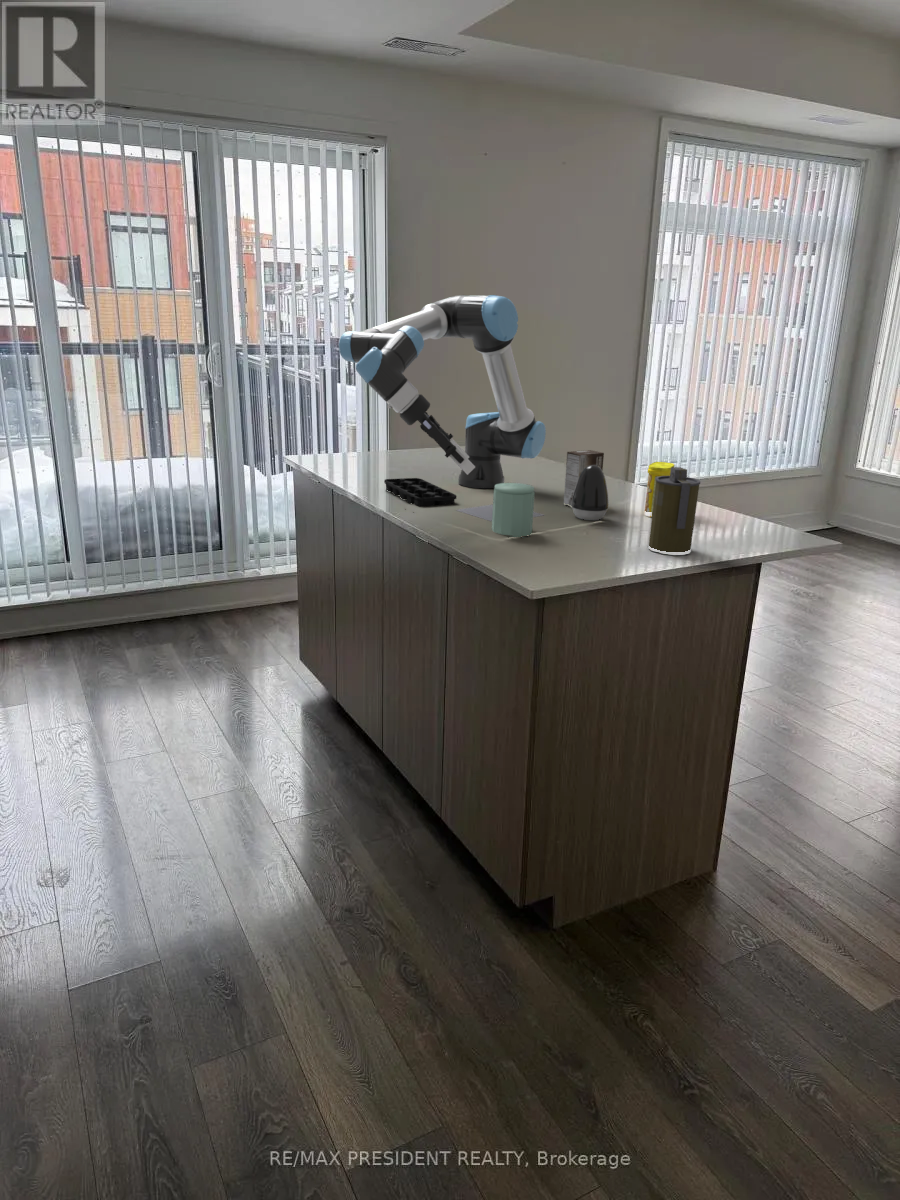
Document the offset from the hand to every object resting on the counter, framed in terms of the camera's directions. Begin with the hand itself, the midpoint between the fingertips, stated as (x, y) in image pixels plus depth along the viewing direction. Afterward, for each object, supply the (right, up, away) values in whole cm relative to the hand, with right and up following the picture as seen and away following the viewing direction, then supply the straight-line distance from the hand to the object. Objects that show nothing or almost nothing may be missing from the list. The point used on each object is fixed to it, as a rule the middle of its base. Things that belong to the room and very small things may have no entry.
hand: (468, 465), depth 210 cm
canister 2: (+49, -22, -5) cm, 54 cm away
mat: (+9, -10, +24) cm, 28 cm away
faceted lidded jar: (+11, -16, +6) cm, 21 cm away
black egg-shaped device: (+34, -12, +23) cm, 42 cm away
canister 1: (+55, -9, +32) cm, 64 cm away
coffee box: (+35, -6, +39) cm, 52 cm away
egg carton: (-14, -3, +43) cm, 45 cm away
